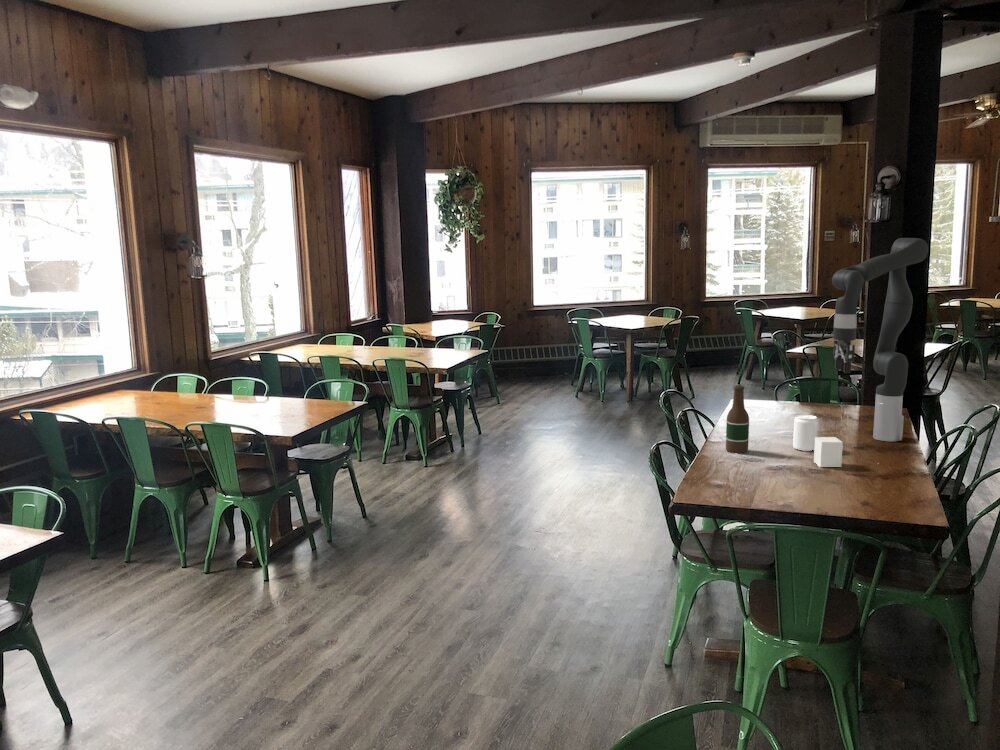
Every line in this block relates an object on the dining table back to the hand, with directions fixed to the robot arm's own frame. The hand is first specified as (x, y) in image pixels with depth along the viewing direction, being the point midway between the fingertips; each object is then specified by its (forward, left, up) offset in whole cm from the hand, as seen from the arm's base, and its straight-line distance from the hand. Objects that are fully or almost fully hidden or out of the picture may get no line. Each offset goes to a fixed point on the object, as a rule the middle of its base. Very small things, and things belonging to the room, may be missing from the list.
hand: (842, 371), depth 292 cm
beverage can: (+13, +3, -28) cm, 31 cm away
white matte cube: (+12, +24, -28) cm, 39 cm away
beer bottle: (+38, +6, -28) cm, 48 cm away
